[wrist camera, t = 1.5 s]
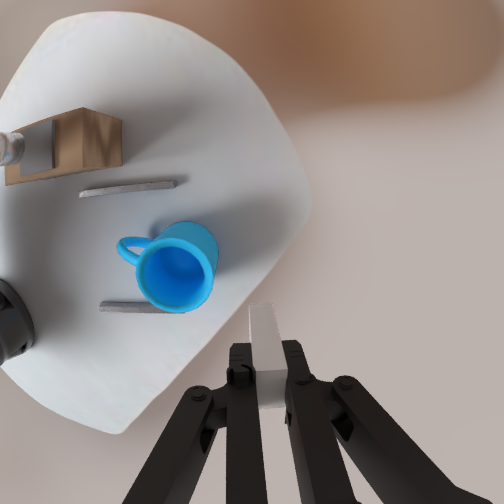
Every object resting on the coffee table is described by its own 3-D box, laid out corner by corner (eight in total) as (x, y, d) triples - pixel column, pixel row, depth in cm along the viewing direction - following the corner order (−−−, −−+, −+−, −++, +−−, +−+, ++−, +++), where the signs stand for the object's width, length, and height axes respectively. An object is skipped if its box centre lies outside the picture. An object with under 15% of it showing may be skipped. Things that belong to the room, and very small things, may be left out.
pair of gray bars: (103, 306, 37) (99, 311, 35) (84, 190, 32) (79, 191, 30) (186, 308, 37) (184, 313, 36) (175, 180, 32) (172, 181, 31)
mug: (226, 233, 35) (224, 252, 27) (208, 290, 37) (201, 322, 29) (137, 204, 33) (110, 215, 25) (124, 262, 35) (99, 287, 27)
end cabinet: (122, 166, 31) (79, 168, 21) (51, 178, 31) (2, 186, 20) (121, 120, 29) (79, 106, 19) (50, 137, 29) (1, 134, 19)
